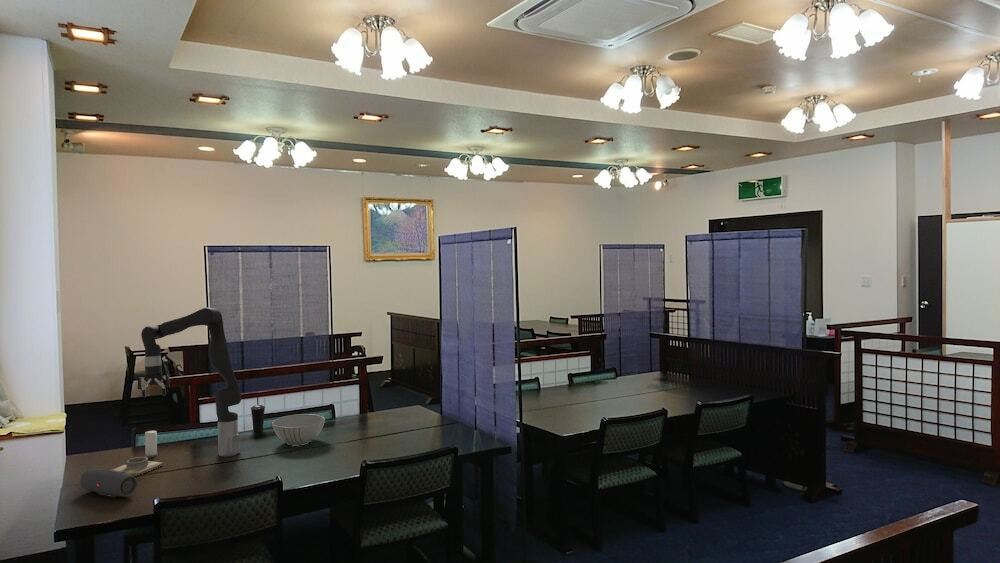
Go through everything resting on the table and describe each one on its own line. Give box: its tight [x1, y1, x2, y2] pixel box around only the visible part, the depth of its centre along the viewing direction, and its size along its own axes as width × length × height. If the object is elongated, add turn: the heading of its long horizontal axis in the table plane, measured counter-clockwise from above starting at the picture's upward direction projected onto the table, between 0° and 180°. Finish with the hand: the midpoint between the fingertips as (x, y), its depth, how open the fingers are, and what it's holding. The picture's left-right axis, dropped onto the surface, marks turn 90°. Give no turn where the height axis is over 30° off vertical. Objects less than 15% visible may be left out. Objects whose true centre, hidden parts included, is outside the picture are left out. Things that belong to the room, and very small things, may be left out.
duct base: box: [110, 456, 164, 477], centre depth 289 cm, size 15×15×4 cm
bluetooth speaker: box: [79, 468, 138, 497], centre depth 259 cm, size 23×9×10 cm, turn 69°
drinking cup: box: [250, 395, 266, 433], centre depth 351 cm, size 8×8×20 cm
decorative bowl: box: [271, 413, 326, 446], centre depth 330 cm, size 27×27×12 cm
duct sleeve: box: [144, 430, 158, 459], centre depth 308 cm, size 5×5×12 cm
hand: (154, 396), depth 318 cm, fingers open, 8 cm apart
